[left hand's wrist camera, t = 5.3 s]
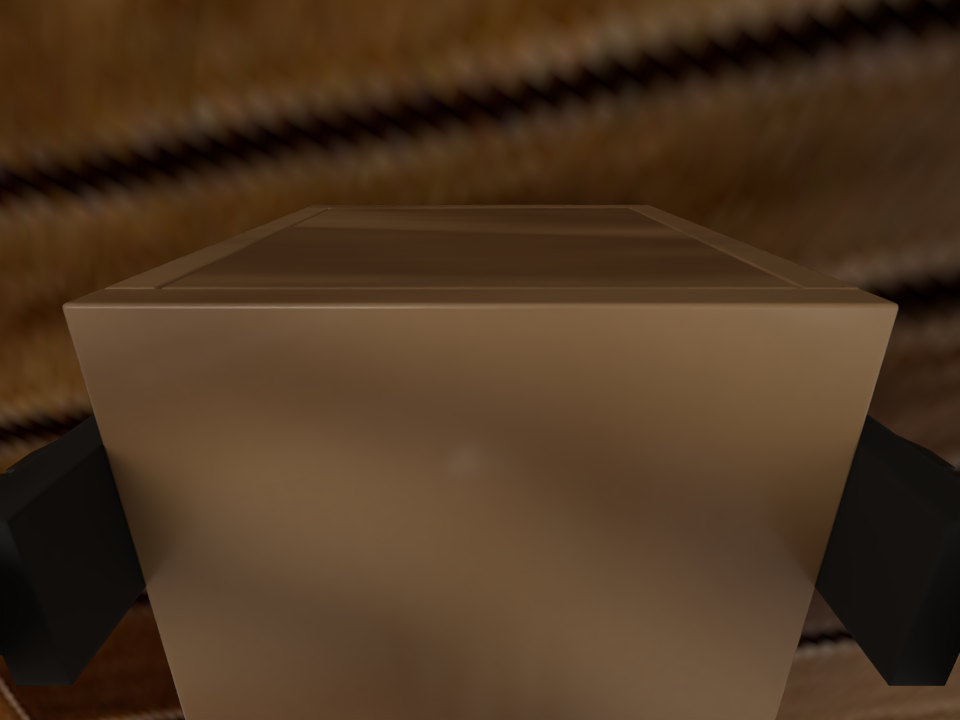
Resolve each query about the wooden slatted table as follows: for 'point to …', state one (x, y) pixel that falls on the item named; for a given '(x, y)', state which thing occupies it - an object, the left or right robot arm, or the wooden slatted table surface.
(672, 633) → the cabinet
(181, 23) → the wooden slatted table surface
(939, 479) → the left robot arm
